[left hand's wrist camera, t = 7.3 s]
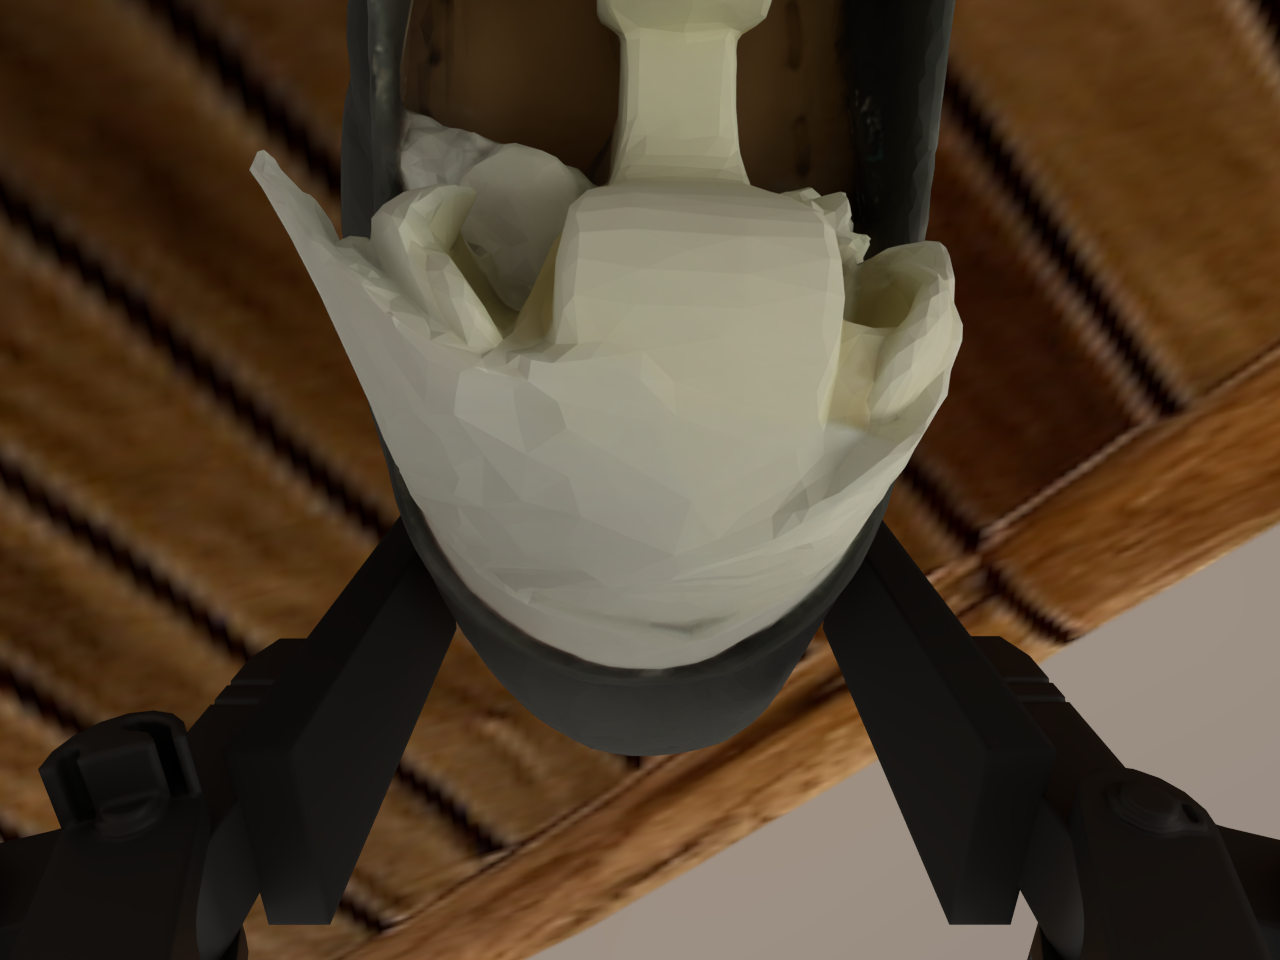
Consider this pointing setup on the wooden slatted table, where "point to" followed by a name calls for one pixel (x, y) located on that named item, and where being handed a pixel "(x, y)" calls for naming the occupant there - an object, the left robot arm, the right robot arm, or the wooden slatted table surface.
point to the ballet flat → (639, 326)
